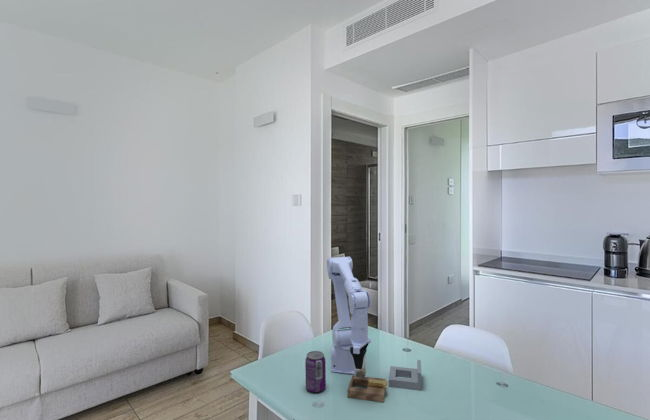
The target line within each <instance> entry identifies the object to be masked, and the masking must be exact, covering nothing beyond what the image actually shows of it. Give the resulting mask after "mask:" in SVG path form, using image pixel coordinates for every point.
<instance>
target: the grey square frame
mask: <svg viewBox="0 0 650 420" xmlns="http://www.w3.org/2000/svg"><path fill="white" fill-rule="evenodd" d="M416 364H417V366H416V367H417V368H412V367H411V368H410V367H403V366H402V367H401V366H393V365H391V366H390V367H389V375H388V387H390V388H391V387H392V388H399V389H405V390H406V389H407V390H414V391H423V390H422V388H423V387H422V385H423V384H422V383H423V381H422V378H423V377H422V362H421V359H417V360H416Z"/></svg>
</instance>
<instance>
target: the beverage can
mask: <svg viewBox="0 0 650 420" xmlns="http://www.w3.org/2000/svg"><path fill="white" fill-rule="evenodd" d="M304 364H305V367H304V368H305V369H304V370H305V388H306V390H307V391H309V392H312V393H318V392H321V391H325V388H326V386H327V383H326V382H327V381H326V380H327V379H326V378H327V375H326V372H327V371H326V357H325V353H324V352H322V351H319V350H312V351H310V352H308V353H306V357H305V363H304Z"/></svg>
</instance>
